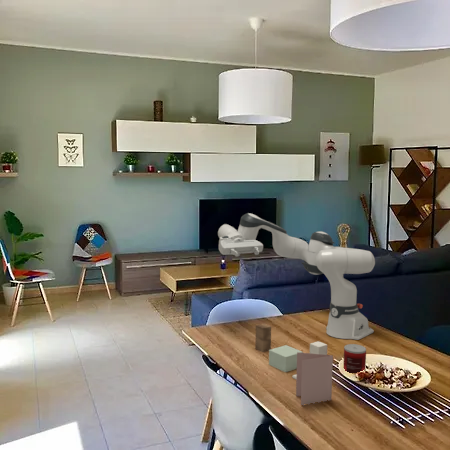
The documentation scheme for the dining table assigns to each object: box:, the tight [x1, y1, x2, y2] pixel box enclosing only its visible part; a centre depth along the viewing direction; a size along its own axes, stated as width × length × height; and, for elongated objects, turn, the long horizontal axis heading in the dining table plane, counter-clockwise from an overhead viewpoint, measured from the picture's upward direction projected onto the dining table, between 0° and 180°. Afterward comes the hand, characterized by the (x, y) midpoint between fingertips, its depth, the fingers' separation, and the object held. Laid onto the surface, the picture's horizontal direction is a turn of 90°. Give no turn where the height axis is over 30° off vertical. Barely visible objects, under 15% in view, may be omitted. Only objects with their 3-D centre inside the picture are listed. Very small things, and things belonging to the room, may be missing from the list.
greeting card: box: [295, 352, 334, 406], centre depth 161 cm, size 11×7×15 cm, turn 77°
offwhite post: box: [309, 341, 328, 355], centre depth 186 cm, size 4×4×10 cm
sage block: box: [268, 344, 304, 373], centre depth 191 cm, size 9×9×6 cm
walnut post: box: [254, 323, 272, 353], centre depth 207 cm, size 4×4×10 cm
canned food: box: [343, 343, 367, 373], centre depth 180 cm, size 8×8×11 cm
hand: (247, 254), depth 223 cm, fingers open, 8 cm apart
